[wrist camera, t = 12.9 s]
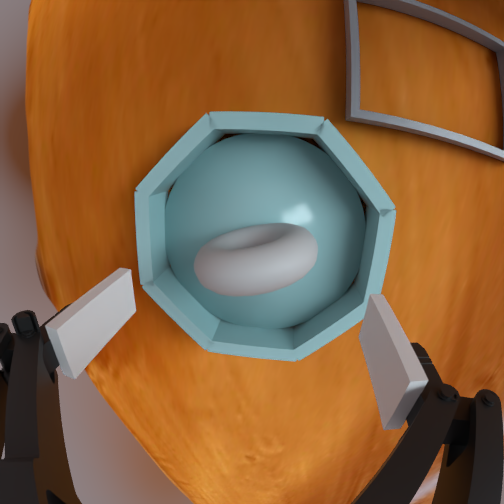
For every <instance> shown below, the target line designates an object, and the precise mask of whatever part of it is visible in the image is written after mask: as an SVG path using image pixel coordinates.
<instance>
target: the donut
mask: <svg viewBox="0 0 504 504" xmlns="http://www.w3.org/2000/svg"><path fill="white" fill-rule="evenodd" d="M317 254H318V245H317V242H316V239H315V238H314V237H313V235H312V234H311V233H310V232H309V231H308V230H307V229H305V228H304V227H301V226H298V225H294V224H290V223H268V224H260V225H254V226H249V227H244V228H240V229H237V230H233V231H230V232H227V233H225V234H222V235H219V236H217V237H215V238H214V239H212V240H210V241H209V242H208V243H206V244H205V245H204V246H203V247H201V248H200V250H199V251H198V253H197V255H196V257H195V261H194V271H195V274H196V276H197V278H198V280H199V281H200V283H201V284H202V285H203V286H204V287H205V288H207V289H209V290H211V291H213V292H215V293H217V294H220V295H227V296H234V297H236V296H255V295H260V294H265V293H270V292H273V291H276V290H279V289H281V288H284V287H287V286H290V285H291V284H293V283H295V282H297V281H298V280H300V279H302V278H303V277H304V276H305V275H306V274H307V273H308V272H309V271H310V270H311V269H312V267H313V266H314V265H315V262H316V260H317Z"/></svg>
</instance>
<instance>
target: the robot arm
mask: <svg viewBox="0 0 504 504" xmlns="http://www.w3.org/2000/svg"><path fill="white" fill-rule="evenodd" d="M135 312H136V306H135V299H134V292H133V284H132V276H131V269H125V268H119V269H118V270H116V271H115V272H113V273H112V274H111V275H109V276H108V277H107V278H105V279H104V280H103V281H101V282H100V283H99V284H97V285H96V286H95V287H93V288H92V289H91V290H89V291H88V292H87V293H85V294H84V295H83V296H81V297H80V298H79V299H78V300H76V301H75V302H74V303H71V304H69V305H67V306H65V307H64V308H63V309H62V310H60V312H58V313H56V314H55V316H53V317H51V318H50V319H49V320H48V321H47V322H45V323H44V324H43V325H42V326H40V327H39V324H38V321H37V318H36V315H35V313H34V312H33V311H30V310H26V311H21V312H19V313H17V314H16V315H14V316H13V317H12V319H11V320H12V323H13V326H14V329H15V331H16V333H11V332H10V330H9V327H8V325H7V324H5V323H0V363H1V364H2V367H3V368H2V370H0V504H82V503H81V502H80V500H79V499H78V497H77V495H76V492H75V489H74V485H73V481H72V477H71V473H70V469H69V464H68V459H67V454H66V448H65V443H64V436H63V429H62V422H61V413H60V403H59V390H58V375H57V371H56V368H57V367H58V366H59V365H60V367H61V370H62V372H63V374H64V375H66V376H68V377H70V378H73V379H76V378H77V377H78V375H79V374H80V373H81V372H82V371H83V370H84V369H85V367H86V366H87V365H88V364H89V363H90V362H91V361H92V359H93V358H94V357H95V356H96V355H97V354H98V353H99V351H100V350H101V349H102V348H103V347H104V346H105V345H106V344H107V342H108V341H109V340H110V339H111V338H112V337H113V336H114V335H115V334H116V333H117V331H118V330H119V329H120V328H121V327H122V326H123V325H124V324H125V323H126V322H127V320H128V319H129V318H130V317H131V316H132V315H133V314H134V313H135ZM359 340H360V343H361V347H362V350H363V353H364V357H365V360H366V364H367V367H368V371H369V374H370V378H371V382H372V385H373V389H374V393H375V397H376V401H377V405H378V409H379V413H380V417H381V421H382V425H383V430H389V429H399V428H401V427H402V425H403V424H404V422H405V420H407V423H408V426H409V427H408V428H407V430H406V431H405V433H404V434H403V436H402V437H401V438H400V440H399V441H398V444H397V445H396V447H395V448H394V449H393V451H392V452H391V454H390V455H389V457H388V458H387V459H386V461H385V462H384V463H383V465H382V466H381V468H380V469H379V470H378V471H377V473H376V474H375V475H374V477H373V478H372V479H371V480H370V482H369V483H368V484H367V485H366V486H365V488H364V489H363V490H362V491H361V492H360V494H359V495H358V496H357V497H356V498H355V499H354V500H353V502H352V503H351V504H409V503H410V502H411V500H412V499H413V497H414V495H415V494H416V492H417V491H418V489H419V487H420V486H421V484H422V482H423V480H424V479H425V477H426V475H427V473H428V471H429V469H430V468H431V466H432V464H433V462H434V460H435V458H436V456H437V454H438V452H439V450H440V448H441V446H442V444H445V447H444V453H443V458H442V464H441V469H440V473H439V478H438V482H437V486H436V490H435V494H434V498H433V501H432V504H500V501H501V492H502V480H503V458H504V445H503V422H502V410H501V402H500V399H499V397H498V396H497V394H495V393H494V392H493V391H490V390H487V389H483V390H480V391H479V392H478V393H477V394H476V395H475V397H474V398H467V397H460V395H459V393H458V391H457V390H456V389H455V388H454V387H452V386H450V385H448V384H443V382H442V380H441V378H440V376H439V374H438V372H437V370H436V369H435V367H434V365H433V364H432V361H431V359H430V358H429V356H428V354H427V352H426V350H425V349H424V348H423V347H422V346H421V345H420V344H418V343H410V342H409V340H408V338H407V336H406V335H405V333H404V331H403V329H402V327H401V325H400V323H399V322H398V320H397V318H396V316H395V314H394V313H393V311H392V309H391V307H390V306H389V304H388V302H387V300H386V299H385V297H384V295H382V294H370V296H369V300H368V304H367V308H366V312H365V316H364V319H363V323H362V327H361V331H360V334H359ZM4 443H5V458H4V459H1V457H2V452H3V448H4Z"/></svg>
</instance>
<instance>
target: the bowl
mask: <svg viewBox="0 0 504 504" xmlns="http://www.w3.org/2000/svg"><path fill="white" fill-rule="evenodd" d="M225 134H240V135H236V136H233V137H230V138H227V139H224V140H222V141H220V142H218V143H216V142H217V141H218V140H219V139H221V138H222V137H223V136H224V135H225ZM296 137H301V138H312V139H313V140H314V141H315V142H316V143H317V144H318V145H319V147H320V148H321V149H322V150H323V151H322V150H320V149H319V148H317V147H315V146H314V145H312V144H310V143H308V142H306V141H303V140H301V139H299V138H296ZM215 143H216V144H215ZM173 185H174V186H173ZM172 186H173V188H172V190H171V192H170V194H169V198H168V191H169V189H170V188H171V187H172ZM136 190H137V191H135V222H136V240H137V254H138V265H139V276H140V285H143V286H142V288H143V289H144V290H145V291H146V292H147V293H148V294H149V296H150V297H151V298H152V299H153V300H154V301H155V302H156V303H157V304H158V305H159V306H160V307H161V308H162V309H163V310H164V311H165V312H166V313H167V314H168V315H169V316H170V317H171V318H172V319H173V320H174V321H175V322H176V323H177V324H178V325H179V326H180V327H181V328H182V329H183V330H184V331H185V332H186V333H187V334H188V335H189V336H190V337H192V338H193V339H194V340H195V341H196V342H197V343H198V344H199V345H200V346H201V347H202V348H203V349H204V350H206V349H208V352H215V353H222V354H229V355H236V356H245V357H253V358H262V359H273V360H284V361H296V360H297V359H298V360H299V361H300V360H301V359H303V358H305V357H306V356H308V355H309V354H311V353H313V352H314V351H316V350H317V349H319V348H321V347H322V346H324V345H325V344H327V343H328V342H330V341H332V340H333V339H335V338H336V337H338V336H339V335H341V334H342V333H344V332H345V331H347V330H348V329H349V328H351V327H352V326H354V325H355V324H357V323H358V322H360V321H361V320H362V319H364V316H365V312H366V308H367V304H368V300H369V296H370V294H381V290H382V286H383V281H384V277H385V272H386V267H387V263H388V258H389V252H390V247H391V242H392V236H393V230H394V224H395V217H396V210H395V209H394V208H395V205H394V204H393V202H392V201H391V199H390V198H389V197H388V195H387V194H386V192H385V191H384V189H383V188H382V187H381V185H380V184H379V182H378V181H377V180H376V178H375V177H374V176H373V174H372V173H371V172H370V170H369V169H368V168H367V166H366V165H365V164H364V162H363V161H362V160H361V158H360V157H359V156H358V155H357V153H356V152H355V151H354V150H353V148H352V147H351V146H350V145H349V143H348V142H347V141H346V140H345V139H344V137H343V136H342V135H341V134H340V133H339V132H338V130H337V129H336V128H335V127H334V126H333V125H332V123H331V122H330V121H329V120H328V119H327V120H325V121H324V117H319V116H310V115H299V114H286V113H269V112H210V114H207V113H206V114H205V115H204V116H203V117H202V118H201V119H200V120H199V121H198V122H197V123H196V124H195V125H194V126H193V127H192V128H191V129H190V130H189V131H188V132H187V133H186V134H185V135H184V136H183V137H182V138H181V139H180V140H179V141H178V142H177V143H176V144H175V145H174V146H173V147H172V148H171V149H170V150H169V151H168V152H167V153H166V154H165V156H164V157H163V158H162V159H161V160H160V161H159V162H158V163H157V164H156V165H155V167H154V168H153V169H152V170H151V171H150V172H149V173H148V174H147V176H146V177H145V178H144V179H143V180H142V181H141V183H140V184H139V185H138V186H137V187H136ZM359 196H360V197H361V199H362V200H363V201H364V203H365V204H366V212H365V216H364V211H363V207H362V204H361V201H360V198H359ZM268 223H290V224H294V225H298V226H301V227H304V228H305V229H307V230H308V231H309V232H310V233H311V234H312V235H313V237H314V238H315V239H316V242H317V245H318V254H317V260H316V262H315V265H314V266H313V267H312V269H311V270H310V271H309V272H308V273H307V274H306V275H305V276H304V277H303V278H302V279H300V280H298V281H297V282H295V283H293V284H291V285H290V286H287V287H284V288H281V289H279V290H276V291H273V292H270V293H265V294H260V295H255V296H236V297H234V296H227V295H220V294H217V293H215V292H213V291H211V290H209V289H207V288H205V287H204V286H203V285H202V284H201V283H200V281H199V280H198V278H197V276H196V274H195V271H194V261H195V257H196V255H197V253H198V251H199V250H200V248H201V247H203V246H204V245H205V244H206V243H208V242H209V241H210V240H212V239H214V238H215V237H217V236H219V235H222V234H225V233H227V232H230V231H233V230H237V229H240V228H244V227H249V226H254V225H260V224H268ZM170 265H171V266H170ZM354 278H355V280H354ZM353 280H354V283H353V284H352V282H353ZM351 284H352V285H351Z"/></svg>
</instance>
